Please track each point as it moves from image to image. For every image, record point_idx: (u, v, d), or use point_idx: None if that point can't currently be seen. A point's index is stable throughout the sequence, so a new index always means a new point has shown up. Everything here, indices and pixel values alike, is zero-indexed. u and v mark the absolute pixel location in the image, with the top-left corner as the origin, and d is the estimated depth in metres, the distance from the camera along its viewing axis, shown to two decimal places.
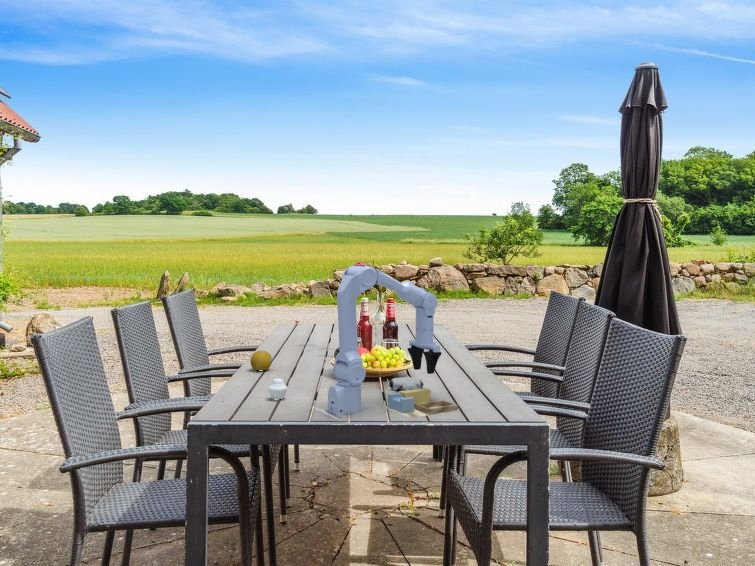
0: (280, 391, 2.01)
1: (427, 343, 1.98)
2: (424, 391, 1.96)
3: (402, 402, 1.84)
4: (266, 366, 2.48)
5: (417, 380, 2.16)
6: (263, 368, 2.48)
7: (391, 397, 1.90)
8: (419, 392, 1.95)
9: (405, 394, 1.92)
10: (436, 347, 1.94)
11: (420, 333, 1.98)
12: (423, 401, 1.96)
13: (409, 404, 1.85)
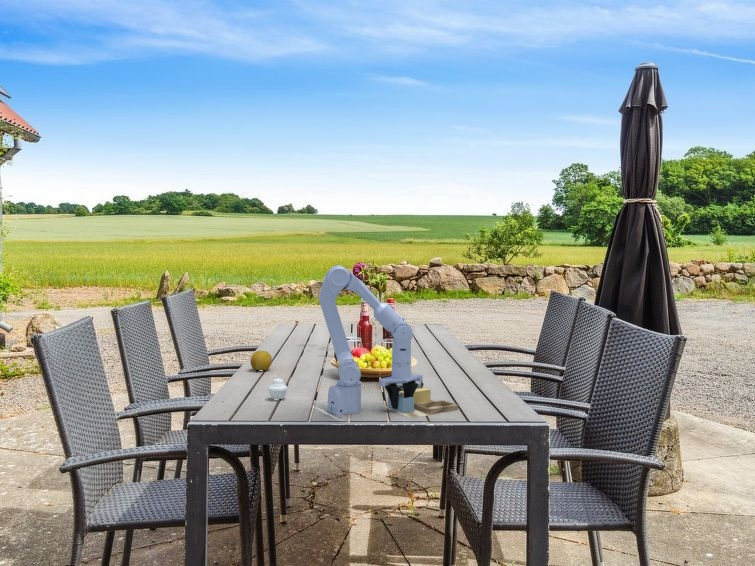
0: (280, 391, 2.01)
1: (392, 376, 1.87)
2: (424, 391, 1.96)
3: (402, 402, 1.84)
4: (266, 366, 2.48)
5: None
6: (263, 368, 2.48)
7: None
8: (419, 392, 1.95)
9: None
10: (380, 380, 1.85)
11: None
12: (423, 401, 1.96)
13: (409, 404, 1.85)
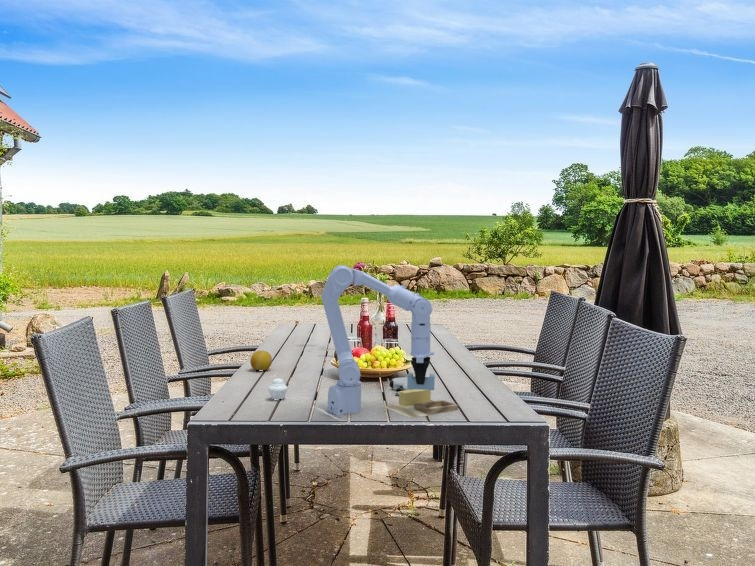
0: (280, 391, 2.01)
1: (418, 352, 1.85)
2: (424, 391, 1.96)
3: (433, 379, 1.86)
4: (266, 366, 2.48)
5: None
6: (263, 368, 2.48)
7: (412, 378, 1.87)
8: (419, 392, 1.95)
9: (405, 394, 1.92)
10: (418, 357, 1.81)
11: (412, 341, 1.87)
12: (423, 401, 1.96)
13: (434, 380, 1.88)
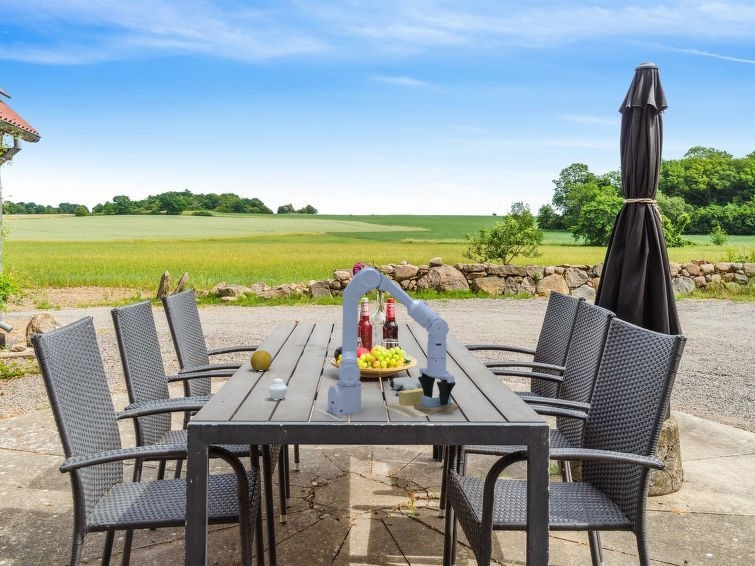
0: (280, 391, 2.01)
1: (440, 372, 1.86)
2: None
3: (449, 399, 1.89)
4: (266, 366, 2.48)
5: (418, 380, 2.16)
6: (263, 368, 2.48)
7: None
8: (419, 392, 1.95)
9: (405, 394, 1.92)
10: (450, 377, 1.82)
11: (432, 362, 1.86)
12: None
13: None
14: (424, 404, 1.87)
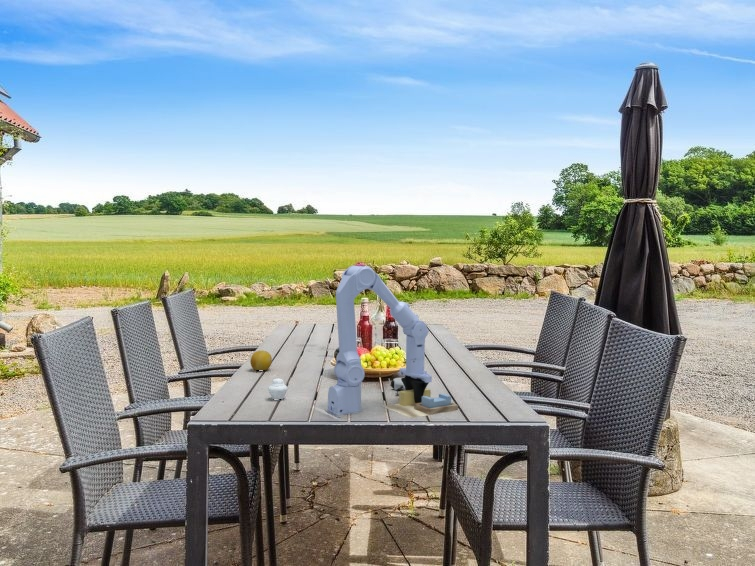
0: (280, 391, 2.01)
1: (418, 373, 1.93)
2: (424, 391, 1.96)
3: (449, 399, 1.89)
4: (266, 366, 2.48)
5: None
6: (263, 368, 2.48)
7: None
8: None
9: (405, 394, 1.92)
10: (428, 377, 1.89)
11: (411, 362, 1.93)
12: None
13: None
14: (424, 404, 1.87)
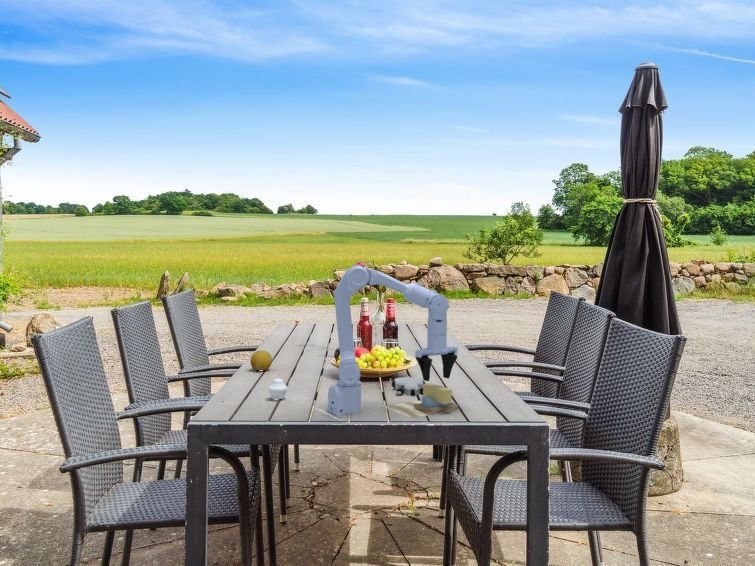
0: (280, 391, 2.01)
1: (428, 348, 1.87)
2: (438, 390, 1.85)
3: None
4: (266, 366, 2.48)
5: (419, 380, 2.16)
6: (263, 368, 2.48)
7: None
8: (434, 389, 1.87)
9: (424, 385, 1.91)
10: (416, 351, 1.84)
11: None
12: (437, 400, 1.86)
13: None
14: (424, 404, 1.87)
